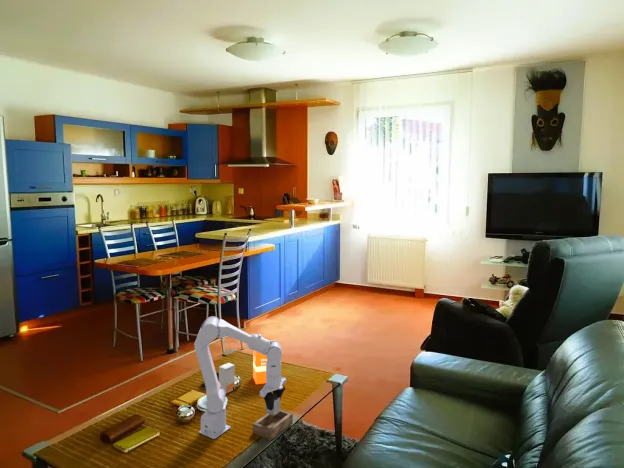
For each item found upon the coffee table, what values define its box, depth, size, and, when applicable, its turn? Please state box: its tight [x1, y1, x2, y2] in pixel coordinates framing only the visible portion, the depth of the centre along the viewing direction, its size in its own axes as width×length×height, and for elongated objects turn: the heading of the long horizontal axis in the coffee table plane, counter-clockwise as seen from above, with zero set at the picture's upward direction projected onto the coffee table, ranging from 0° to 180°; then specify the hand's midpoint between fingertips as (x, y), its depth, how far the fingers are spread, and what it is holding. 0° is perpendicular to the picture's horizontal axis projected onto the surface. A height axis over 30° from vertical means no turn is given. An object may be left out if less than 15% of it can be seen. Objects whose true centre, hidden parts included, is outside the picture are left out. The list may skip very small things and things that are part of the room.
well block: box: [252, 408, 294, 441], centre depth 183 cm, size 14×8×4 cm, turn 148°
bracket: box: [265, 393, 281, 416], centre depth 182 cm, size 4×4×7 cm
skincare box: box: [218, 362, 236, 394], centre depth 212 cm, size 6×4×12 cm
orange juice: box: [252, 338, 274, 385], centre depth 223 cm, size 8×9×20 cm
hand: (273, 406), depth 182 cm, fingers closed on bracket, 4 cm apart
